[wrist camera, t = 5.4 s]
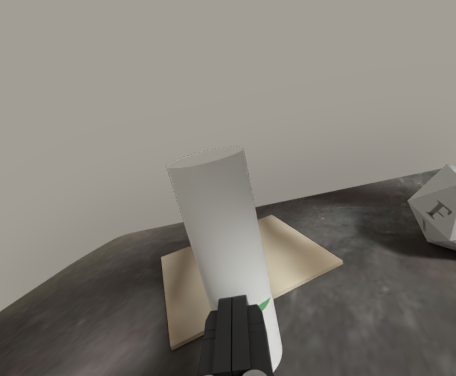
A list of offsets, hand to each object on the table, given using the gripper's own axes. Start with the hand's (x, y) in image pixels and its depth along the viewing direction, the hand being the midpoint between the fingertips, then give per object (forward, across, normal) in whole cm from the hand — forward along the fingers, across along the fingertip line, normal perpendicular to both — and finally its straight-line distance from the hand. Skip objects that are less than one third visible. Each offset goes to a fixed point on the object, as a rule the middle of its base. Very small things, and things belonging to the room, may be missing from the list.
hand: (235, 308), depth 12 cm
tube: (+3, 0, +7) cm, 8 cm away
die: (+10, -22, +7) cm, 25 cm away
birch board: (+13, +1, +7) cm, 15 cm away
